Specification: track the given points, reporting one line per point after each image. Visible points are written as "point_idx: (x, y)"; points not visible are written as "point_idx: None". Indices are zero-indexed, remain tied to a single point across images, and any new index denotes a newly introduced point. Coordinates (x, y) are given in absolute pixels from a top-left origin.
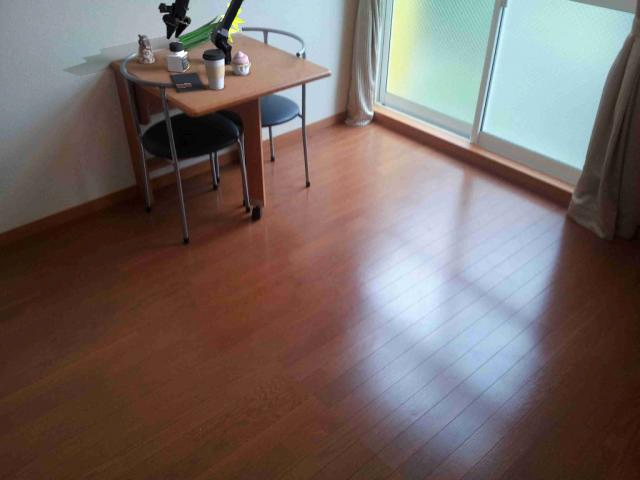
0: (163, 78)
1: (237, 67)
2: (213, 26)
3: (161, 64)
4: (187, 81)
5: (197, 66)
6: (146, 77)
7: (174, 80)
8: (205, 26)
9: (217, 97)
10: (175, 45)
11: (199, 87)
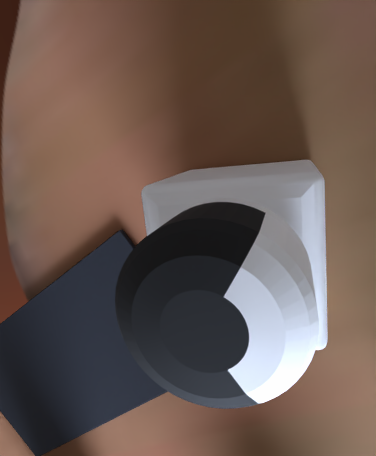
0: (67, 201)
1: None
2: None
3: (319, 18)
4: (73, 359)
5: (359, 329)
6: (34, 84)
7: (53, 288)
8: None
9: None
10: (130, 347)
11: (36, 433)
